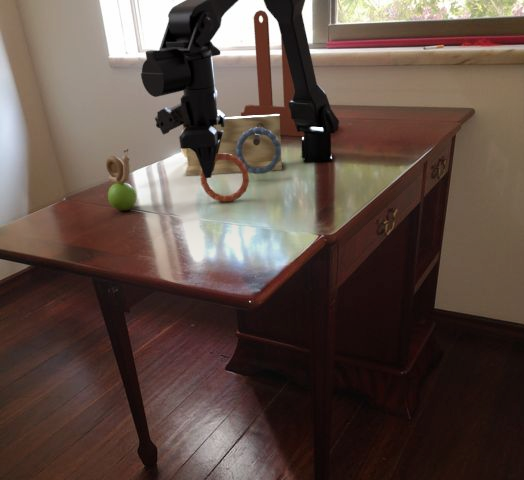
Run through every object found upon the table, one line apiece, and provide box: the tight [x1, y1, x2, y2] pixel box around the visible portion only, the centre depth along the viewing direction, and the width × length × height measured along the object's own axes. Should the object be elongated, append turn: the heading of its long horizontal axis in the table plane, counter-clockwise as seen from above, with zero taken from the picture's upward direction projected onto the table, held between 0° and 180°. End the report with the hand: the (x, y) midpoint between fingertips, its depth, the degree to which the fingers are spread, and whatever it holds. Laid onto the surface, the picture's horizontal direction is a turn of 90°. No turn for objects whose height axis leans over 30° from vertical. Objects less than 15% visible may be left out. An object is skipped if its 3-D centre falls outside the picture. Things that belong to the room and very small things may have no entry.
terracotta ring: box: [199, 153, 250, 203], centre depth 108 cm, size 9×1×9 cm, turn 87°
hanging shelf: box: [240, 10, 304, 138], centre depth 152 cm, size 24×13×30 cm, turn 58°
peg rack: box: [181, 114, 283, 176], centre depth 122 cm, size 22×17×11 cm
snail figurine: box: [105, 148, 137, 212], centre depth 107 cm, size 5×6×12 cm
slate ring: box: [236, 128, 282, 175], centre depth 117 cm, size 9×1×9 cm, turn 88°
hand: (209, 174), depth 108 cm, fingers open, 4 cm apart
